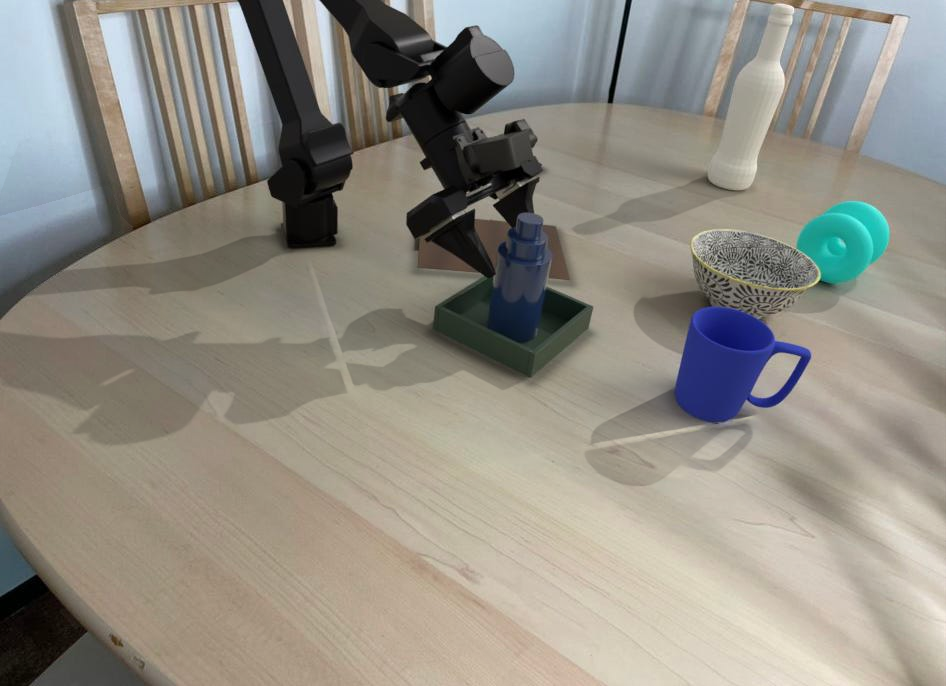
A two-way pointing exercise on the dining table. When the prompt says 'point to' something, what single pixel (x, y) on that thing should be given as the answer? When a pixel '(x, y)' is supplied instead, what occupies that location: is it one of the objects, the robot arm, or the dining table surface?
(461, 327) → the tray
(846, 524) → the dining table surface
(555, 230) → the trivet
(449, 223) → the robot arm
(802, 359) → the mug
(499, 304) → the blue bottle
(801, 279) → the bowl
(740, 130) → the bottle
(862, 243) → the turquoise yo-yo
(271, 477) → the dining table surface
